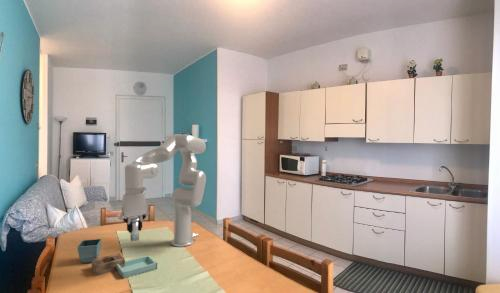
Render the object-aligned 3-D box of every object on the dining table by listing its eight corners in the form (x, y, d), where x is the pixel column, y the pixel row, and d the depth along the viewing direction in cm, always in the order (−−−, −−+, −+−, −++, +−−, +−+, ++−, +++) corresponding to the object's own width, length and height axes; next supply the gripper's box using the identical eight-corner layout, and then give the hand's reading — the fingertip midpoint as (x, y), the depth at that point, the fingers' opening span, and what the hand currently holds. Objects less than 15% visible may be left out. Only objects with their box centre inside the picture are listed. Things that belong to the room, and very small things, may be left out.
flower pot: (77, 265, 136) (76, 246, 135) (82, 257, 144) (82, 240, 144) (97, 263, 138) (97, 245, 138) (102, 256, 146) (101, 238, 146)
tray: (148, 260, 142) (148, 255, 142) (157, 268, 133) (157, 263, 133) (116, 269, 132) (116, 263, 132) (123, 278, 124) (123, 272, 124)
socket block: (119, 261, 141) (119, 253, 140) (124, 268, 134) (124, 259, 133) (91, 268, 133) (91, 259, 133) (96, 275, 126) (95, 266, 126)
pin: (138, 237, 136) (138, 216, 135) (141, 240, 132) (141, 218, 131) (128, 239, 133) (127, 218, 132) (131, 242, 129) (130, 220, 129)
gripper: (149, 187, 139) (150, 225, 140) (112, 192, 129) (113, 232, 130) (155, 190, 133) (155, 229, 134) (116, 195, 123) (117, 237, 124)
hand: (134, 230), depth 132 cm, fingers closed on pin, 3 cm apart
